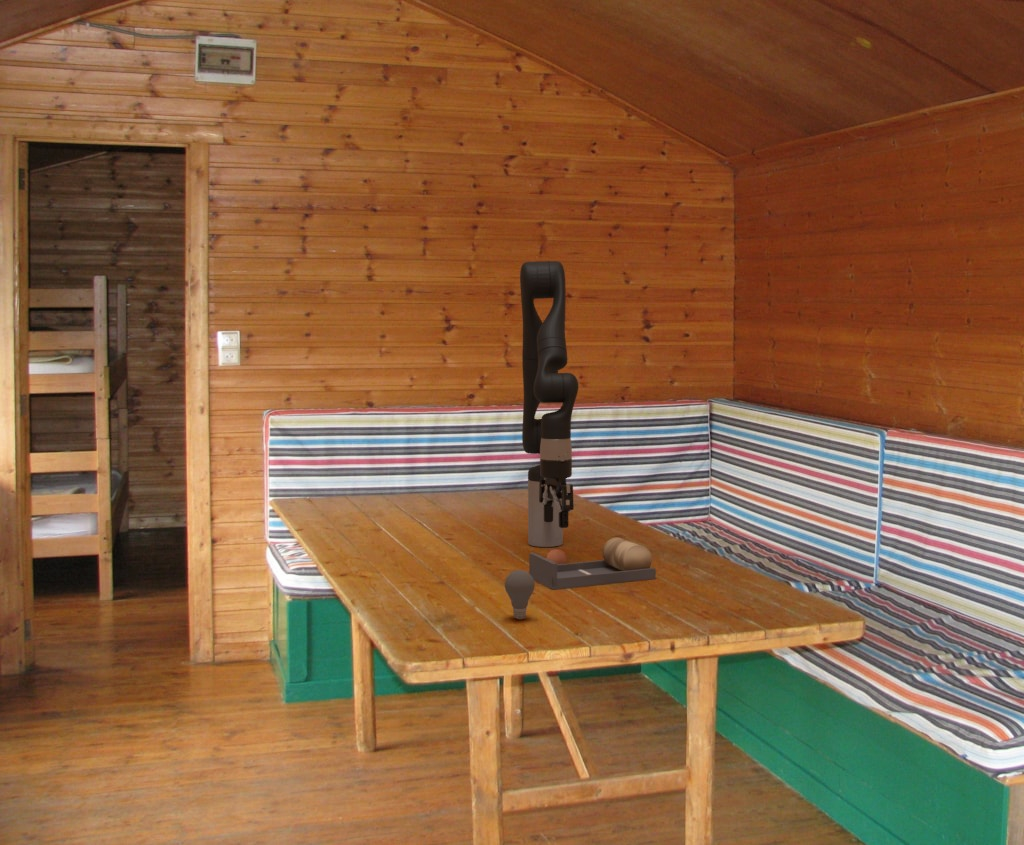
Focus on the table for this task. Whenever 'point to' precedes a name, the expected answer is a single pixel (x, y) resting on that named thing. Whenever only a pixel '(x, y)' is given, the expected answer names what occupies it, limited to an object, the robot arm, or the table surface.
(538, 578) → the runway
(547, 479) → the robot arm
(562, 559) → the ball
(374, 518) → the table surface
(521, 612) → the light bulb
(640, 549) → the log roller
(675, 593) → the table surface
